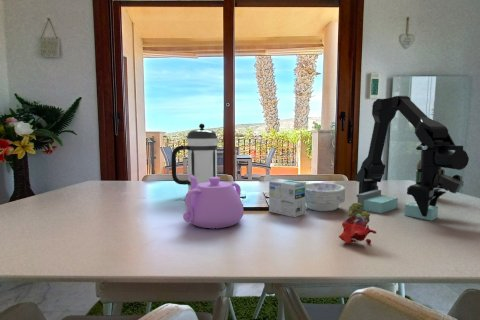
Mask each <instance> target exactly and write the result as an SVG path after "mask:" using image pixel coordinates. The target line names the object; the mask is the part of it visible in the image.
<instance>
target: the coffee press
mask: <svg viewBox="0 0 480 320" xmlns="http://www.w3.org/2000/svg"><path fill="white" fill-rule="evenodd" d="M198 127H199V129H195V130H191V131H188V133H187V136H185V137H186V140H187V145H179V146H176V147H175V148H174V149H173V150H172V152H171V177H172V180H173V181H174V182H175V184H178V185H183V186H186V185H187V186H188V189H187V190H188V191H187V193H188V192H189V191H190V189H191V180H190V177H189V174H192V175H194V176H195V177H196V180H197V183H198V184H200V183H205V182H210V181H209V178H210V177H218V166H217V165H218V162H217V161H218V160H217V159H218V156H217V155H218V152H217V150H218V145H217V144H221V140H220V138H218V135H217V133H216V132H215V131H214V130H210V129H204V128H205V124H204V123H200V124H199V126H198ZM185 150H187V180H186V179H185V180H183V179H182V180H181V179H179V178H178V177H177V154H178V152H180V151H185Z"/></svg>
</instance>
